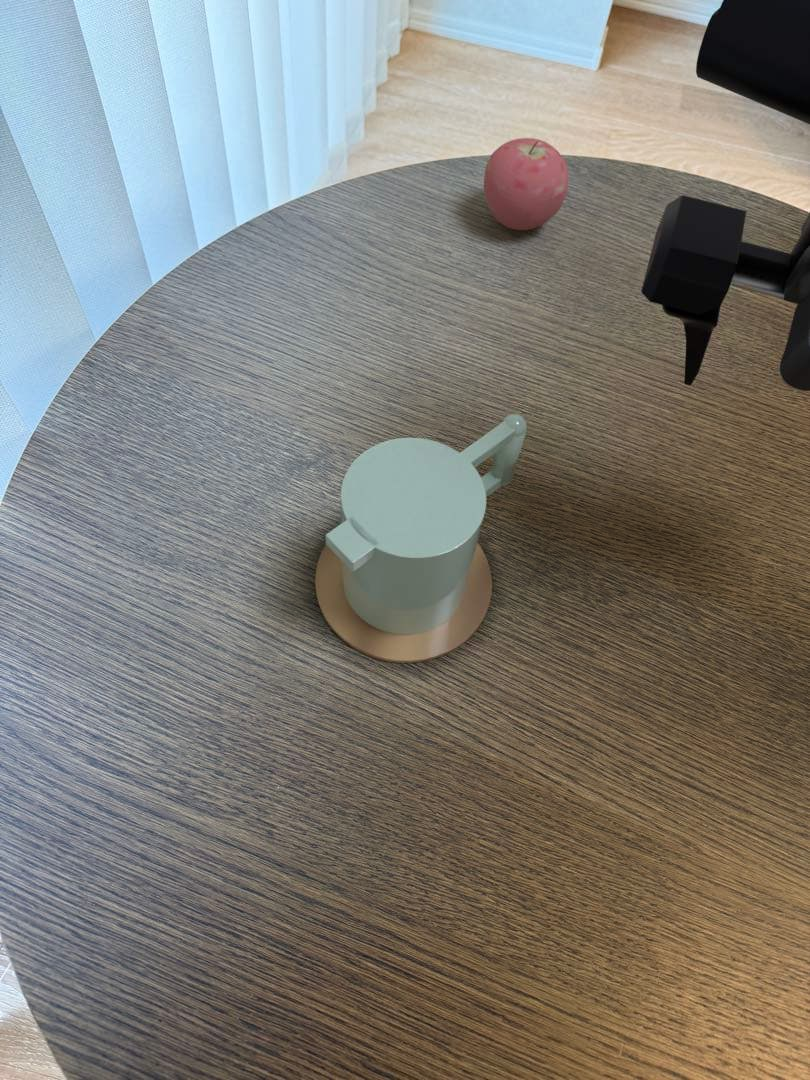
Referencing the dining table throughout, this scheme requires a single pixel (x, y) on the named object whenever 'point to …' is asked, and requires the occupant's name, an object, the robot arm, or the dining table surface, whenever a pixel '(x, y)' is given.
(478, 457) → the jug
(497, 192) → the apple
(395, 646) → the coaster
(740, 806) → the dining table surface
